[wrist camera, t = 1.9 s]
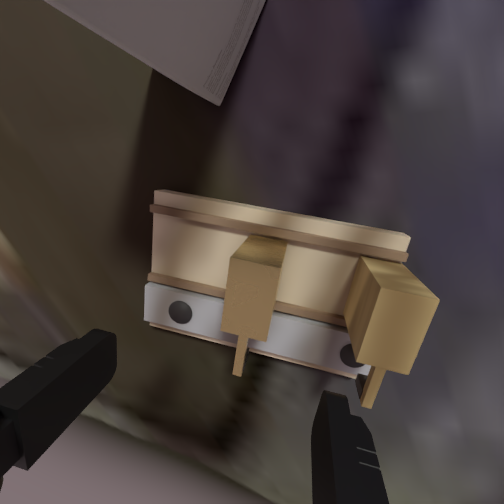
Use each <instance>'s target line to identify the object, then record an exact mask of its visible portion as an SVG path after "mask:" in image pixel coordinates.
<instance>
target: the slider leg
mask: <svg viewBox="0 0 504 504" xmlns="http://www.w3.org/2000/svg"><path fill="white" fill-rule="evenodd" d="M287 244H288V242H286V241H281V240H276V239H271V238H266V237H261V236H256V235H251V234H250V236H249V237H248V238H247V239H246V240H245V241H244V242H243V243H242V245H241V246H240V247H239V248H238V249H237V250H236V251H235V252H234V254H233V255H232V256H231V257H230V261H229V268H228V276H227V284H226V291H225V299H224V306H223V314H222V321H221V329H220V331H223V332H227V333H231V334H235V335H239V336H238V342H237V349H236V355H235V361H234V368H233V375H236V376H240V377H241V375H242V372H243V371H244V368H245V365H246V362H247V358H248V355H249V349H250V348H247V345H248V339H249V338H251V339H255V340H259V341H263V342H267V337H268V333H269V329H270V324H271V320H272V316H273V312H274V307H275V303H276V299H277V294H278V289H279V284H280V279H281V274H282V269H283V264H284V259H285V254H286V249H287Z"/></svg>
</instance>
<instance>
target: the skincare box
mask: <svg viewBox="0 0 504 504" xmlns="http://www.w3.org/2000/svg"><path fill="white" fill-rule="evenodd" d="M43 1H45V2H47V3H48V4H50V5H51V6H53V7H55V8H56V9H58V10H60V11H61V12H63V13H64V14H66V15H68V16H69V17H71V18H72V19H74V20H76V21H77V22H79V23H80V24H82V25H84V26H85V27H87V28H89V29H90V30H92V31H93V32H95V33H97V34H98V35H100V36H101V37H103V38H105V39H106V40H108V41H110V42H111V43H113V44H115V45H116V46H118V47H119V48H121V49H123V50H124V51H126V52H128V53H129V54H131V55H132V56H134V57H136V58H137V59H139V60H140V61H142V62H144V63H145V64H147V65H148V66H150V67H152V68H153V69H155V70H156V71H158V72H160V73H161V74H163V75H165V76H166V77H168V78H169V79H171V80H173V81H174V82H176V83H178V84H179V85H181V86H183V87H185V88H186V89H188V90H190V91H192V92H193V93H195V94H197V95H199V96H201V97H202V98H204V99H206V100H208V101H210V102H212V103H213V104H215V105H217V106H220V105H221V103H222V101H223V98H224V96H225V94H226V91H227V89H228V87H229V85H230V82H231V80H232V78H233V75H234V73H235V71H236V68H237V66H238V64H239V61H240V59H241V57H242V55H243V52H244V50H245V48H246V45H247V43H248V41H249V38H250V36H251V34H252V31H253V29H254V27H255V24H256V22H257V20H258V17H259V15H260V13H261V10H262V8H263V6H264V3H265V1H266V0H43Z"/></svg>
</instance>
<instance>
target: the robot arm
mask: <svg viewBox="0 0 504 504" xmlns="http://www.w3.org/2000/svg"><path fill="white" fill-rule="evenodd" d="M116 367H117V340H116V335H115V334H114V333H111V332H107V331H104V330H100V329H93V330H91V331H90V332H88V333H87V334H86V335H84V336H83V337H82V338H80V339H77V338H76V339H74V340H72V341H69V342H67V343H65V344H62V345H60V346H59V347H57V348H56V349H54V350H53V351H52V352H50V353H49V354H47V355H46V357H45V358H44V357H43V358H42V359H40V360H39V361H38V362H36V363H35V364H34V366H31V367H29V368H28V369H26V370H25V371H24V372H22V373H21V374H19V375H18V376H17V377H15V378H14V379H12V380H11V381H10V382H8V383H7V384H5V385H4V386H3V387H1V388H0V491H1V487H2V484H3V475H4V474H5V473H6V472H7V471H8V470H9V469H10V468H11V467H12V466H16V467H19V468H21V469H24V470H28V469H29V468H30V467H31V466H32V465H33V464H34V463H35V462H36V461H37V459H39V458H40V456H41V455H42V454H43V453H44V452H45V451H46V450H47V449H48V448H49V447H50V446H51V445H52V443H53V442H54V441H55V440H56V439H57V438H58V437H59V436H60V435H61V434H62V433H63V432H64V431H65V429H66V428H67V427H68V426H69V425H70V424H71V423H72V422H73V421H74V420H75V419H76V418H77V416H78V415H79V414H80V413H81V412H82V411H83V410H84V409H85V408H86V407H87V406H88V405H89V403H90V402H91V401H92V400H93V399H94V398H95V397H96V396H97V395H98V394H99V393H100V392H101V390H102V389H103V388H104V387H105V386H106V385H107V384H108V383H109V382H110V380H111V379H112V377H113V375H114V373H115V371H116ZM311 457H312V496H313V504H389V501H388V497H387V493H386V489H385V486H384V482H383V478H382V474H381V471H380V469H379V468H380V466H379V462H378V458H377V455H376V450H375V446H374V442H373V438H372V435H371V433H370V431H369V429H368V428H367V426H366V424H365V423H364V421H363V420H362V418H361V417H358V416H354V415H351V414H350V409H349V404H348V399H347V397H346V396H345V395H341V394H337V393H333V392H330V391H326V390H324V391H323V393H322V396H321V399H320V402H319V405H318V409H317V412H316V415H315V419H314V422H313V427H312V435H311Z"/></svg>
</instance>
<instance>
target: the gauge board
mask: <svg viewBox="0 0 504 504" xmlns="http://www.w3.org/2000/svg"><path fill="white" fill-rule="evenodd" d="M150 212H153V213H154V215H153V244H152V272H150V273H149V274H148V280H149V281H150V282H149V283H147V284H146V285H145V307H144V320H146V321H150V325H151V326H154V327H158V328H162V329H166V330H170V331H174V332H178V333H181V334H185V335H189V336H193V337H197V338H201V339H204V340H208V341H212V342H216V343H220V344H224V345H228V346H231V347H235V348H237V342H238V336H239V335H235V334H231V333H227V332H223V331H220V329H221V321H222V314H223V306H224V299H225V291H226V284H227V276H228V268H229V261H230V257H231V256H232V255H233V254H234V252H235V251H236V250H237V249H238V248H239V247H240V246H241V245H242V243H243V242H244V241H245V240H246V239H247V238H248V237H249V236H250V234H251V235H256V236H261V237H266V238H271V239H276V240H281V241H286V242H288V244H287V249H286V254H285V259H284V264H283V269H282V274H281V279H280V284H279V289H278V294H277V299H276V303H275V307H274V312H273V316H272V320H271V324H270V329H269V333H268V337H267V342H263V341H259V340H255V339H251V338H249V339H248V345H247V348H250V349H249V351H251V352H254V353H258V354H262V355H266V356H270V357H274V358H278V359H281V360H285V361H289V362H293V363H297V364H301V365H304V366H308V367H312V368H316V369H320V370H324V371H328V372H331V373H335V374H339V375H343V376H347V377H351V378H354V379H356V380H355V382H356V387H357V391H358V395H359V399H360V402H361V406H363V407H366V408H370V409H371V408H372V405H373V403H374V400H375V397H376V395H377V392H378V390H379V387H380V384H381V382H382V379H383V377H384V374H385V371H386V370H390V371H394V372H398V373H402V374H406V375H409V372H410V370H411V368H412V365H413V363H414V360H415V358H416V356H417V353H418V351H419V349H420V346H421V344H422V341H423V339H424V337H425V334H426V332H427V330H428V327H429V325H430V322H431V320H432V318H433V315H434V313H435V311H436V308H437V306H438V304H439V301H440V300H439V299H438V298H437V297H436V296H435V295H434V294H433V293H432V292H431V291H430V290H429V289H428V288H427V287H426V286H425V285H424V284H423V283H422V282H421V281H420V280H419V279H418V278H416V277H415V276H414V275H413V274H412V273H411V272H410V271H409V270H408V269H407V268H406V267H405V266H404V265H403V264H402V261H403V262H406V261H407V258H408V255H409V254H408V253H407V252H406V250H407V247H408V244H409V241H410V239H411V237H409V236H408V235H406V234H405V233H401V232H396V231H390V230H385V229H379V228H374V227H368V226H363V225H357V224H352V223H346V222H341V221H335V220H330V219H324V218H319V217H313V216H308V215H302V214H297V213H291V212H286V211H280V210H275V209H269V208H264V207H258V206H253V205H247V204H242V203H236V202H231V201H225V200H220V199H214V198H209V197H203V196H198V195H192V194H187V193H181V192H176V191H170V190H165V189H162V190H154V204H150ZM370 368H371V369H370ZM369 370H370V371H369ZM368 373H369V374H368Z"/></svg>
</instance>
